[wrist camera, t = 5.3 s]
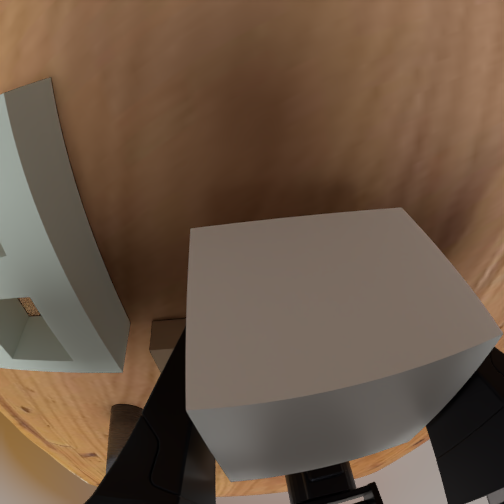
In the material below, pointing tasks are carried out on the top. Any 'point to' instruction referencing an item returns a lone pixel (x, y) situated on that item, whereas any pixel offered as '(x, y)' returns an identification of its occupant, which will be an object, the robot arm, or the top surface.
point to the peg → (120, 429)
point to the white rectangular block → (323, 338)
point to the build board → (50, 250)
